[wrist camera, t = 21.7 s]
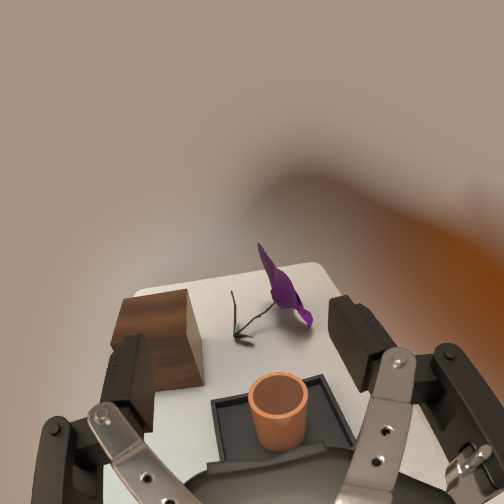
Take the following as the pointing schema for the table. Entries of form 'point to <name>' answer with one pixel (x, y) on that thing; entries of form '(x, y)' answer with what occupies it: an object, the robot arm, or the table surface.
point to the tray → (244, 435)
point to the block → (165, 336)
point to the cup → (279, 410)
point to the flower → (278, 293)
